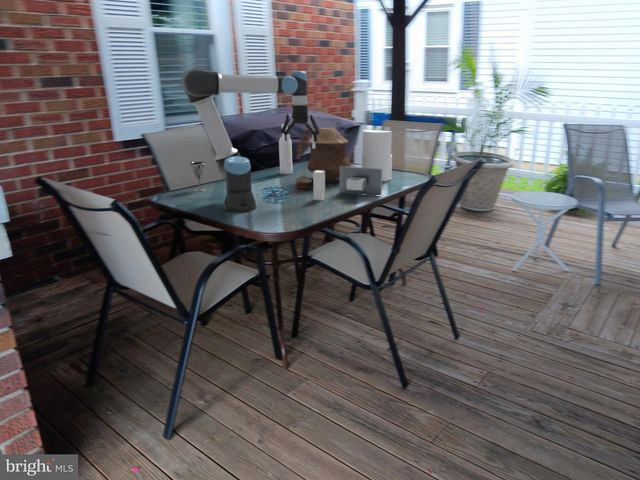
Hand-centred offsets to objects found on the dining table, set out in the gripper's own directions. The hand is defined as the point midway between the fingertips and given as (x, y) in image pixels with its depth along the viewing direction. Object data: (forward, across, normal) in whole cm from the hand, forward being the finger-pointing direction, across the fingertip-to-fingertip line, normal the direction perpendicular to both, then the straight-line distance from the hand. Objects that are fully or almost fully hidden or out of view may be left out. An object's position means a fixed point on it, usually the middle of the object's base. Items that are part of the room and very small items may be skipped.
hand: (301, 147), depth 245 cm
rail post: (+24, -12, +7) cm, 28 cm away
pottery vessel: (+24, -4, -36) cm, 44 cm away
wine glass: (+24, +57, +6) cm, 63 cm away
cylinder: (+24, -30, -46) cm, 60 cm away
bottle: (+24, +28, -48) cm, 61 cm away
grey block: (+24, -29, -2) cm, 38 cm away
